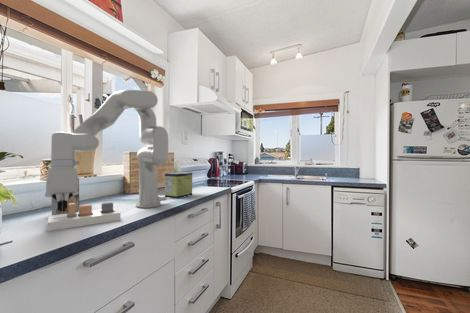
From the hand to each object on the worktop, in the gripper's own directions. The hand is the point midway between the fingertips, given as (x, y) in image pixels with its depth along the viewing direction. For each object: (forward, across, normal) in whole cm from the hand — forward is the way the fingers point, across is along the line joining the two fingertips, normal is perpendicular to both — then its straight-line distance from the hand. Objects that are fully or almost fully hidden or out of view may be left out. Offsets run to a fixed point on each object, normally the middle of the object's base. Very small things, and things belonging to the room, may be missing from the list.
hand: (62, 210), depth 91 cm
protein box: (+4, -63, -32) cm, 71 cm away
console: (+6, -8, 0) cm, 10 cm away
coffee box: (+6, -2, -23) cm, 24 cm away
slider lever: (+2, -3, 0) cm, 4 cm away
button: (+3, -16, 0) cm, 16 cm away
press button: (+3, -8, 0) cm, 9 cm away
